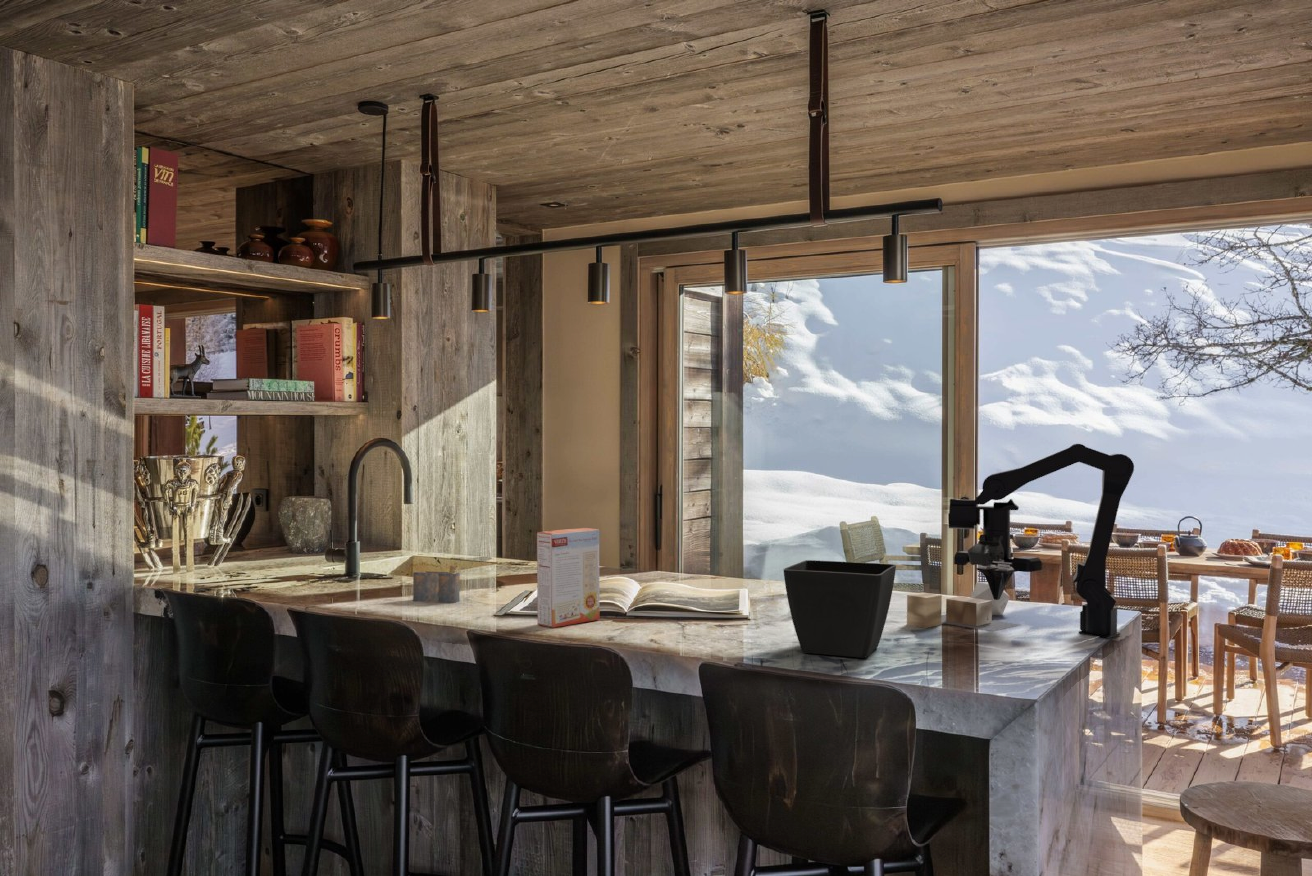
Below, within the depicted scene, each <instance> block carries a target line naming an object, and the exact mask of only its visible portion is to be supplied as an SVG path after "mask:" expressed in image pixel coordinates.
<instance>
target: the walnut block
mask: <svg viewBox="0 0 1312 876" xmlns="http://www.w3.org/2000/svg"><path fill="white" fill-rule="evenodd" d="M970 597H971V596H970ZM970 597H968V596H962V595H960V596H955V597H948V598H946V600H945V601H946V602H945V614H946V621H951V622H957V623H963V624H969V625H975V626H979V625H983V624H988V623H992V620H993V619H992V617H993V615H992V601H990V600H983V599H976V598H970Z"/></svg>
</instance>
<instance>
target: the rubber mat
mask: <svg viewBox="0 0 1312 876" xmlns="http://www.w3.org/2000/svg"><path fill="white" fill-rule="evenodd" d="M941 624H946V625H950V626H951V625H952V626H957V627H963V628H971V629H976V630H981V631H987V632H997V631H1001V630H1005V629H1010V628H1014V627H1018V626H1021V624H1019V623H1018V624H1017V623H1012V622H1008V621H999V620H994V619H992V623H988V624H983V625H979V626H975V625H969V624H963V623H957V622H951V621H946V613H945V614H941Z"/></svg>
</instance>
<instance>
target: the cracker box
mask: <svg viewBox="0 0 1312 876" xmlns="http://www.w3.org/2000/svg"><path fill="white" fill-rule="evenodd" d="M536 565H537V566H536V572H537V573H536V574H537V577H536V578H537V579H536V582H537V585H536V586H537V587H536V588H537V590H536V591H537V602H536V603H537V606H536V607H537V625H538V626H543V627H548V628H552V629H553V628H559V627H564V626H570V625H576V624H580V623H581V624H582V623H588V622H595V621H597V620H598V621H599V620H600V613H601V612H600V529H597V528H590V527H580V528H568V529H554V530H545V531H537V533H536Z"/></svg>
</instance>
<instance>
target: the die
mask: <svg viewBox="0 0 1312 876" xmlns="http://www.w3.org/2000/svg"><path fill="white" fill-rule="evenodd" d="M970 598H976V599H983V600H990V601H992V616H1003V614H1004V613H1005V610H1006V607H1007V605H1008V602H1009V600H1010V598H1011V597H1010V595H1009V594H1008V593H1007V592H1006V590H1005V589H1004V591H1003V593H1002V595H1001V597H1000V599H999V600H994V598H993V595H992V593H991V590H990V587H989V584H988V582H987V581H977V582H976V583H975V585H974V589H973V591H972V592H971V595H970Z"/></svg>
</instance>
